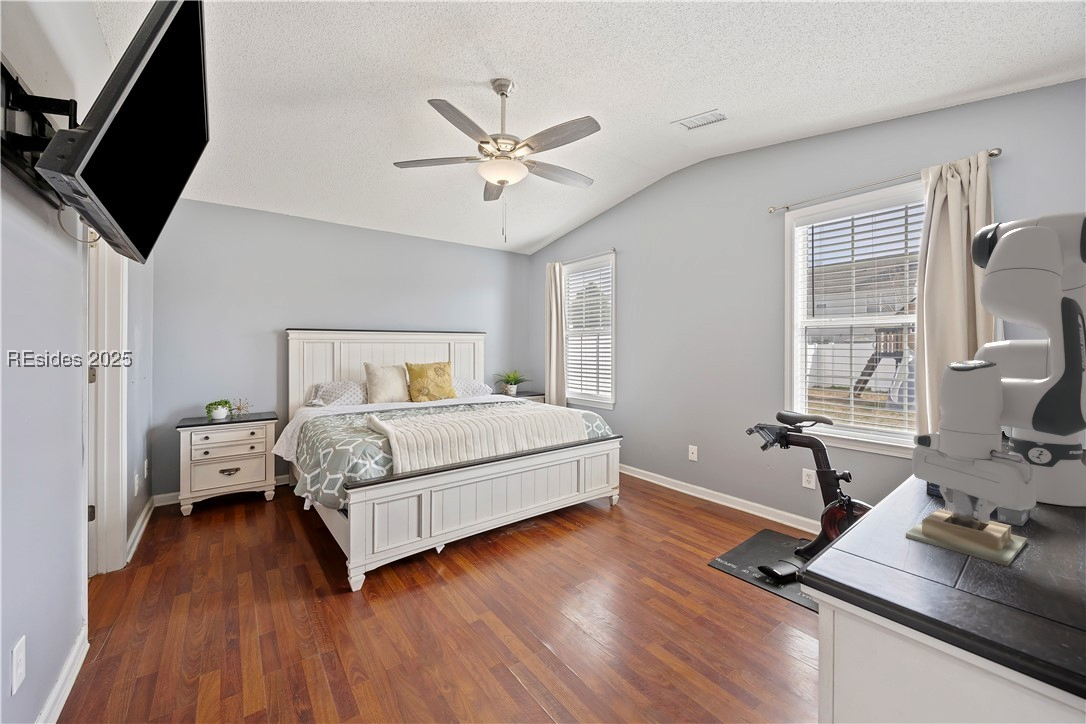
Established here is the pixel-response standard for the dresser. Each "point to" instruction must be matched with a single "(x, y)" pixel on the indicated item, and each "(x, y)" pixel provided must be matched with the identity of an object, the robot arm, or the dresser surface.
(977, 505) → the peg
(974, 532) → the hub block
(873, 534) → the dresser surface
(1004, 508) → the label tape box
